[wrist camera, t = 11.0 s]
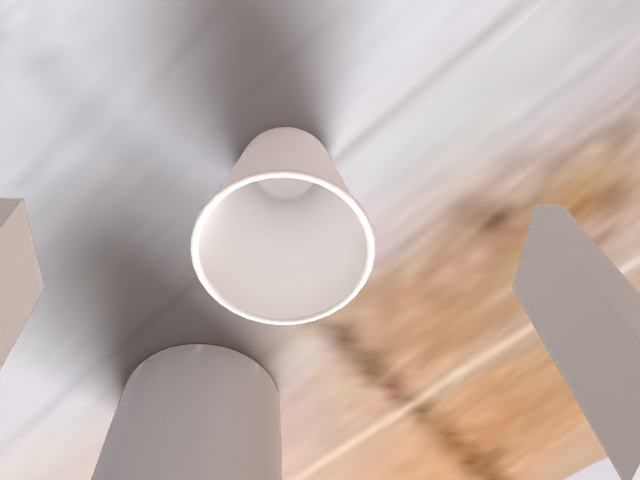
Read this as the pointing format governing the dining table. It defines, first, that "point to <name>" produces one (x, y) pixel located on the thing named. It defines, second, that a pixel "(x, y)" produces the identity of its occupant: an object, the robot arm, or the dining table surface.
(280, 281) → the cup
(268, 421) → the utensil holder
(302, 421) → the dining table surface
